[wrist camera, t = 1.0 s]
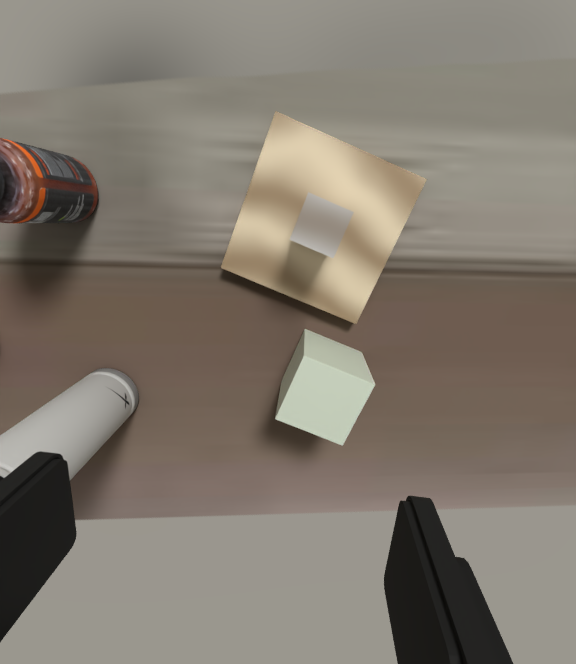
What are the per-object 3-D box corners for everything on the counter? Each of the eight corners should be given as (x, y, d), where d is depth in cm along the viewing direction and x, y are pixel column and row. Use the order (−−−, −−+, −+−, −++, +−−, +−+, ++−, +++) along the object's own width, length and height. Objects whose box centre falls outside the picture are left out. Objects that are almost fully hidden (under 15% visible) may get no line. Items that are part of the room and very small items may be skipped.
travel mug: (147, 377, 39) (-6, 522, 20) (131, 425, 41) (-21, 601, 22) (92, 355, 39) (-116, 483, 20) (79, 405, 41) (-123, 566, 22)
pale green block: (335, 403, 39) (342, 445, 32) (281, 381, 39) (275, 419, 31) (361, 352, 37) (375, 384, 30) (304, 328, 37) (304, 355, 29)
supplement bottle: (48, 143, 33) (-78, 104, 22) (109, 175, 34) (14, 151, 23) (32, 205, 35) (-93, 196, 24) (90, 234, 35) (-7, 238, 24)
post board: (354, 320, 36) (365, 343, 29) (224, 265, 35) (203, 276, 28) (421, 181, 32) (453, 169, 25) (277, 116, 31) (267, 84, 24)
